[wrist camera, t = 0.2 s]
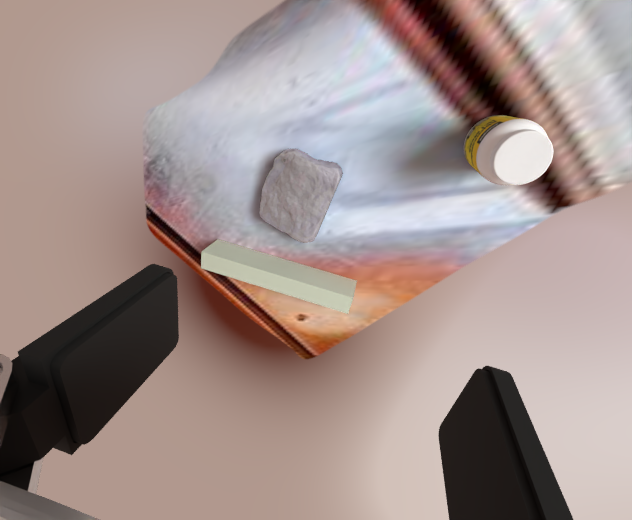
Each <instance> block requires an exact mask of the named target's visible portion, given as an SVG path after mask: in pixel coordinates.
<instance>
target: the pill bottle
mask: <svg viewBox="0 0 632 520" xmlns="http://www.w3.org/2000/svg"><path fill="white" fill-rule="evenodd" d="M464 155H465V158H466V160H467V161H468V163H469V164H470V165H471V166H472V167H473V168H474V169H475V170H476V171H477V172H479V173H480V174H481V175H482V176H483V177H484V178H485V179H487V180H488V181H490V182H492V183H495V184H499V185H521V184H526V183H529V182H531V181H533V180H535V179H537V178H538V177H540V176H541V175H542V174H543V173H544V172H545V171H546V170H547V168H548V167H549V165H550V163H551V161H552V158H553V146H552V143H551V141H550V139H549V138H548V136H547V134H546V132H545V131H544V129H543V128H542V127H541V126H539V125H538V124H536V123H535V122H533V121H530V120H527V119H521V118H515V117H509V116H503V115H496V116H490V117H487V118H485V119H483V120H481V121H479V122H478V123H477V124H475V125H474V126H473V127H472V129H471V130H470V131H469V133H468V134H467V136H466V138H465V142H464Z"/></svg>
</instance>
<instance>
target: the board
mask: <svg viewBox="0 0 632 520" xmlns="http://www.w3.org/2000/svg"><path fill="white" fill-rule="evenodd" d="M201 268H202V269H205V270H209V271H212V272H215V273H218V274H221V275H225V276H228V277H231V278H234V279H237V280H241V281H244V282H247V283H250V284H254V285H257V286H260V287H263V288H266V289H270V290H273V291H276V292H279V293H282V294H286V295H289V296H292V297H295V298H298V299H302V300H305V301H308V302H311V303H315V304H318V305H321V306H324V307H327V308H331V309H334V310H337V311H340V312H343V313H347V314H348V312H349V309H350V306H351V303H352V300H353V297H354V292H355V287H356V283H357V281H356V280H353V279H349V278H346V277H343V276H339V275H336V274H333V273H329V272H326V271H323V270H319V269H316V268H313V267H309V266H306V265H303V264H299V263H296V262H293V261H289V260H286V259H283V258H279V257H276V256H273V255H269V254H266V253H262V252H259V251H256V250H252V249H249V248H246V247H242V246H239V245H236V244H232V243H229V242H226V241H222V240H219V239H217V240H216V241H215V242H213V243H212V244H211V245H209V246H208V247H207V248H206V249H204V250H203V251H202V252H201Z"/></svg>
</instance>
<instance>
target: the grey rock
mask: <svg viewBox="0 0 632 520" xmlns="http://www.w3.org/2000/svg"><path fill="white" fill-rule="evenodd" d="M342 174H343V172H342V169H341V167H340V166H339V165H338V164H337V163H334V162H329V161H323V160H316V159H314V158H312V157H311V156H309V155H308V154H307V153H304V152H302V151H300V150H298V149H287V150H285V151H283V152H282V153H281V154H279V155H278V156H277V157H276V158H275V160H274V165H273V168H272V169H271V170H270V172H269V173H268V175H267V177H266V180H265V183H264V185H263V188H262V194H261V197H262V199H261V201H260V202H261V204H260V211H259V214H260V216H261V218H262V219H263V220H264V221H265V222H266V223H268V224H270V225H272V226H273V227H275V228H277V229H278V230H280V231H282V232H285V233H287V234H288V235H290V236H291V237H292V238H294V239H296V240H297V241H300V242H303V243H307V242H312V241H314V239H315V237H316V236H317V234H318V231H319V229H320V227H321V224H322V222H323V219H324V217H325V215H326V212H327V210H328V208H329V205H330V203H331V201H332V198H333V196H334V193H335V191H336V189H337V187H338V184H339V182H340V180H341V177H342Z"/></svg>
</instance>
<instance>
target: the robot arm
mask: <svg viewBox="0 0 632 520" xmlns="http://www.w3.org/2000/svg"><path fill="white" fill-rule="evenodd" d="M178 336H179V335H178V297H177V277H176V276H175V275H173V272H172V270H171V269H169V268H166V267H163V266H159V265H156V264H151V265H149V266H147V267H146V268H144V269H143V270H141V271H140V272H138V273H137V274H135V275H134V276H132V277H131V278H129V279H128V280H126V281H125V282H123V283H122V284H120V285H119V286H117V287H116V288H114V289H113V290H111V291H109V292H108V293H106V294H105V295H103V296H102V297H100V298H99V299H97V300H96V301H94V302H93V303H91V304H90V305H88V306H87V307H85V308H84V309H82V310H81V311H79V312H77V313H76V314H74V315H73V316H72V317H70V318H68V319H67V320H65V321H64V322H62V323H61V324H59V325H58V326H56V327H55V328H53V329H52V330H50V331H49V332H47V333H46V334H44V335H43V336H41V337H40V338H38V339H37V340H35V341H33V342H32V343H30V344H29V345H27V346H26V347H25V348H23V349H21V350H20V351H18V354H19V356H18V357H17V358H15V359H14V360H12V361H11V360H10V359H9V358H8V357H6V356H4V355H2V354H0V520H99V519H97V518H94V517H92V516H89V515H87V514H84V513H82V512H79V511H77V510H74V509H72V508H70V507H67V506H64V505H62V504H60V503H57V502H54V501H52V500H49V499H47V498H44V497H42V496H39V495H36V492H37V487H38V481H39V477H40V472H41V467H42V462H43V457H44V456H45V455H46V454H47V453H48V452H49V451H50V450H51V449H52V448H55V449H58V450H60V451H63V452H66V453H68V454H71V455H72V454H73V453H74V452H75V451H76V450H77V448H79V447H80V446H81V445H82V444H86V443H88V442H90V441H91V440H92V439H93V438H94V437H95V436H96V435H97V434H98V433H99V431H100V430H101V429H102V428H103V427H104V426H105V425H106V423H108V421H109V420H110V419H111V418H112V417H113V416H114V415H115V414H116V412H117V411H118V410H119V409H120V408H121V407H122V406H123V405H124V404H125V403H126V402H127V400H128V399H129V398H130V397H131V396H132V395H133V394H134V393H135V392H136V390H137V389H138V388H139V387H140V386H141V385H142V384H143V383H144V382H145V380H146V379H147V378H148V377H149V376H150V375H151V374H152V373H153V371H154V370H155V369H156V368H157V367H158V366H159V365H160V364H161V363H162V362H163V360H164V359H165V358H166V357H167V356H168V355H169V354H170V353H171V352H172V351H173V349H174V348H175V347H176V345H177V342H178V338H179V337H178ZM439 443H440V450H441V459H442V466H443V474H444V481H445V489H446V497H447V505H448V513H449V520H573V518H572V515H571V513H570V511H569V508H568V506H567V504H566V501H565V499H564V497H563V495H562V492H561V490H560V487H559V485H558V483H557V480H556V478H555V476H554V473H553V471H552V469H551V466H550V464H549V462H548V459H547V457H546V455H545V452H544V450H543V448H542V445H541V443H540V441H539V438H538V436H537V434H536V431H535V429H534V427H533V424H532V422H531V420H530V417H529V415H528V413H527V410H526V408H525V406H524V403H523V401H522V399H521V396H520V394H519V392H518V389H517V387H516V385H515V382H514V380H513V377H512V376H511V374H510V373H508V372H507V371H503V370H500V369H497V368H493V367H490V366H485V367H483V369H477V370H476V371H475V372H474V374H473V375H472V377H471V378H470V380H469V382H468V383H467V384H466V386H465V388H464V389H463V391H462V392H461V394H460V395H459V397H458V399H457V400H456V402H455V404H454V405H453V406H452V408H451V410H450V411H449V413H448V414H447V416H446V417H445V419H444V421H443V422H442V424H441V426H440V429H439Z"/></svg>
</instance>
